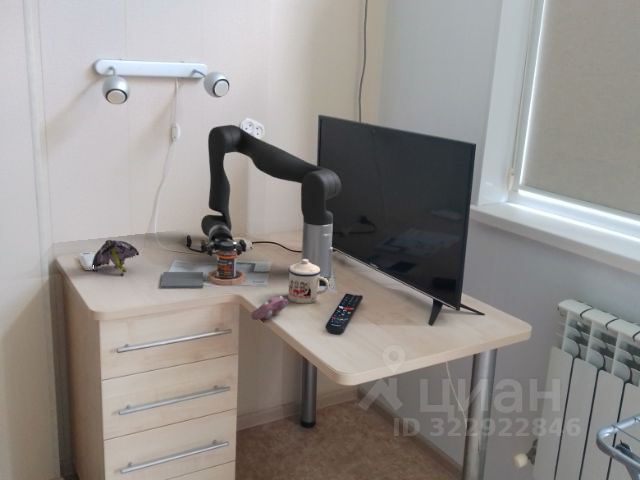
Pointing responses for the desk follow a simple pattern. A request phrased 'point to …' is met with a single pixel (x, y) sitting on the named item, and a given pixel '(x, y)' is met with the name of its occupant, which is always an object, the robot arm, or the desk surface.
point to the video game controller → (270, 308)
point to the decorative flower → (114, 254)
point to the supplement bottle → (226, 261)
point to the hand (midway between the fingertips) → (225, 253)
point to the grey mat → (182, 280)
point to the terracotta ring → (226, 282)
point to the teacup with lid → (305, 282)
